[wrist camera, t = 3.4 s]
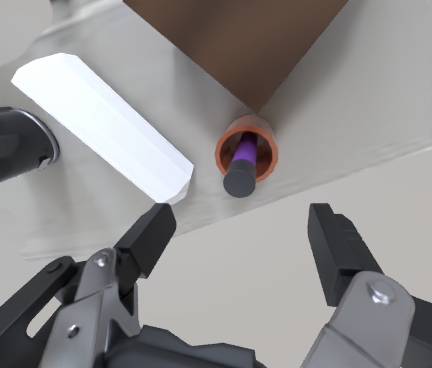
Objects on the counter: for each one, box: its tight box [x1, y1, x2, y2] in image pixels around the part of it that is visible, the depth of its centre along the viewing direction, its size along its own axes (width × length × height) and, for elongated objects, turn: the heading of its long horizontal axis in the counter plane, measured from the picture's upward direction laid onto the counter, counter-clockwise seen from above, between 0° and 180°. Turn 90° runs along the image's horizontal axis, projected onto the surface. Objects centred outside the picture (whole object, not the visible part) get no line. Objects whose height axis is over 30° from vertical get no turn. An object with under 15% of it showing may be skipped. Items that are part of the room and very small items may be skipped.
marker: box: [223, 133, 258, 198], centre depth 18 cm, size 2×2×11 cm
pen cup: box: [215, 115, 278, 182], centre depth 20 cm, size 6×6×6 cm
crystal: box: [11, 53, 194, 205], centre depth 24 cm, size 7×7×24 cm
